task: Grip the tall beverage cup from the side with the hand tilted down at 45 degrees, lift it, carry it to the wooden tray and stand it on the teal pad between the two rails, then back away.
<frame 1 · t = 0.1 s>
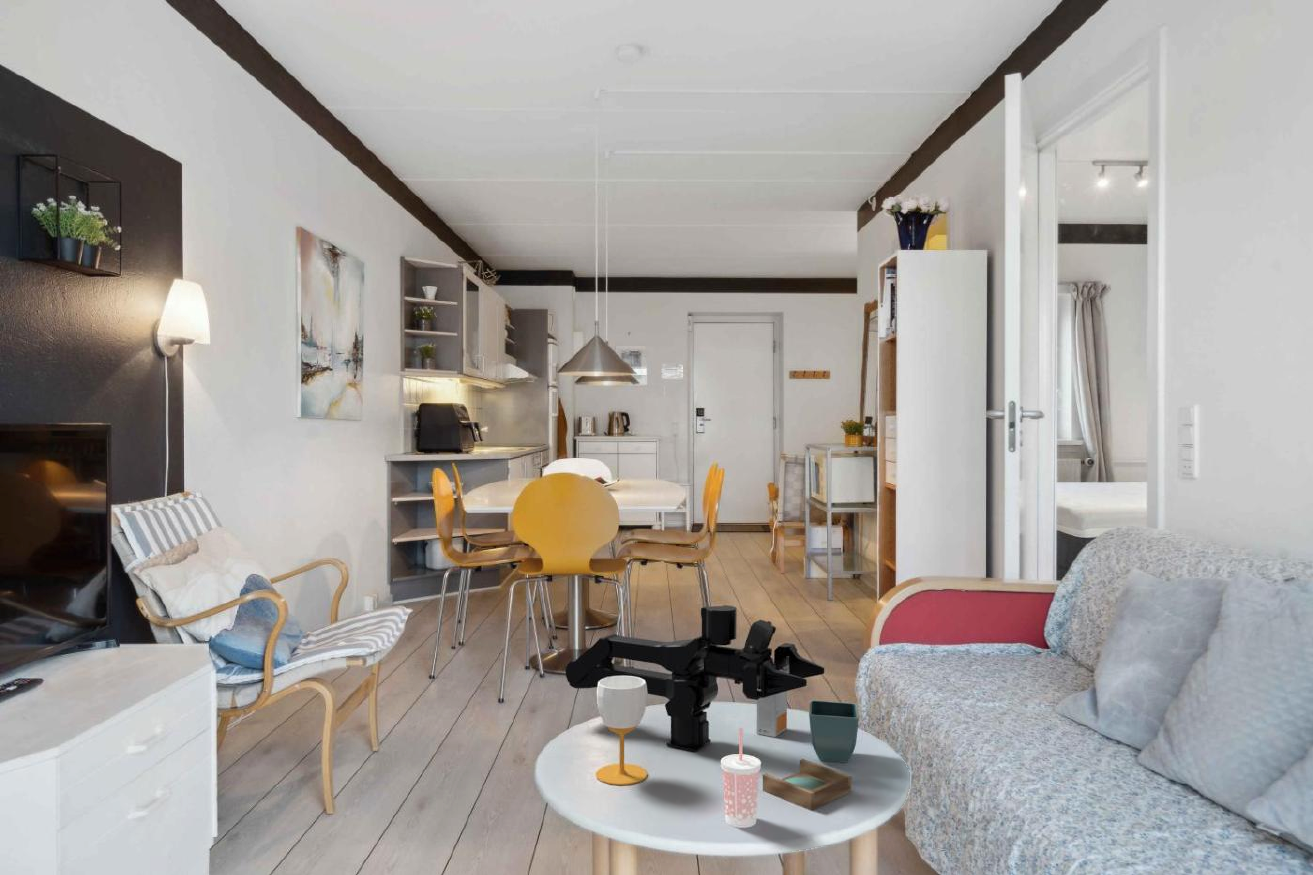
hand: (815, 676, 143), 17 cm above the table, tool horizontal, fingers open, 9 cm apart
beverage cup: (740, 822, 124), on the table
cup: (621, 776, 141), on the table
wooden tray: (806, 791, 135), on the table
flower pot: (833, 758, 150), on the table
skincare box: (772, 732, 163), on the table
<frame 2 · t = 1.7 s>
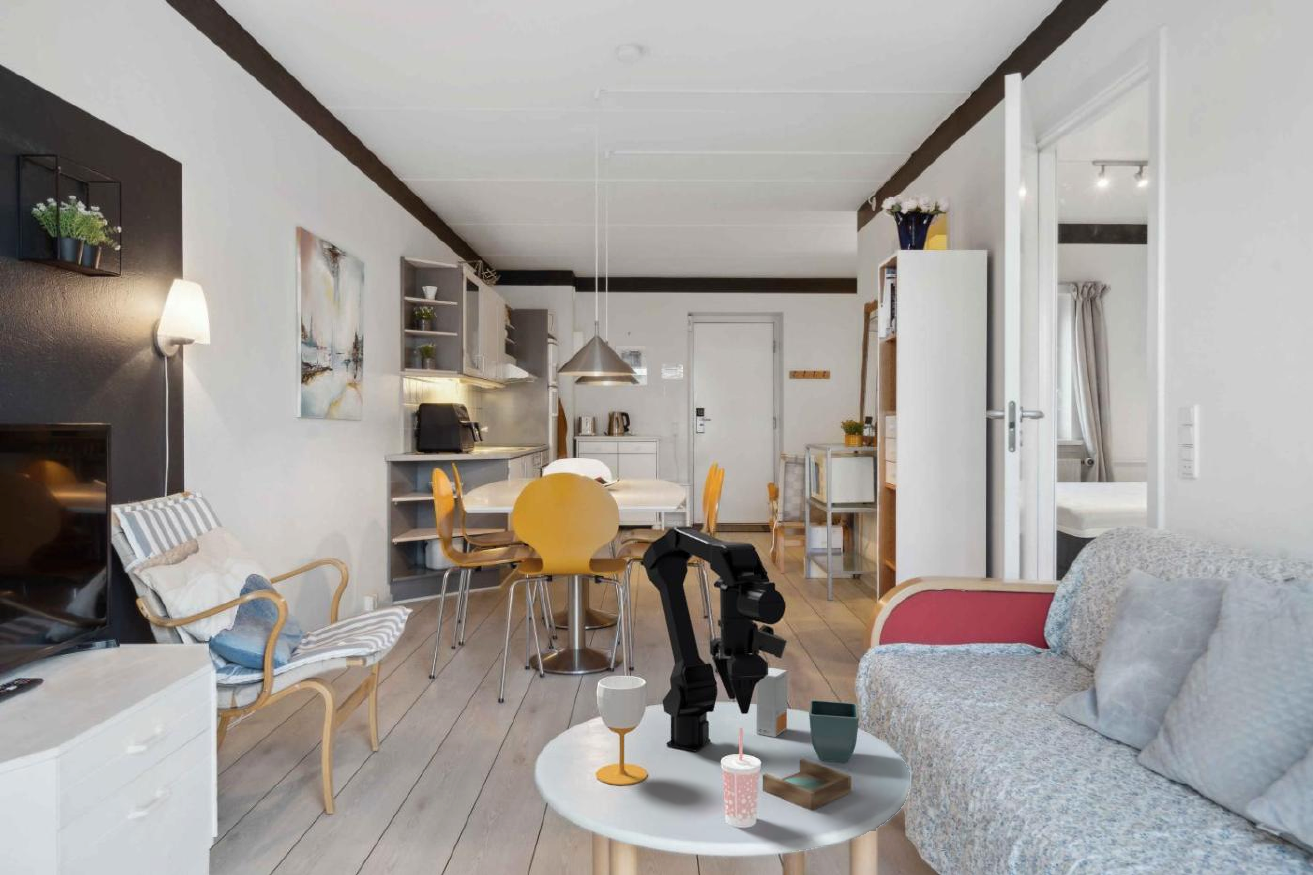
hand: (738, 705, 142), 12 cm above the table, tool pointing down, fingers open, 9 cm apart
nothing on the table moved.
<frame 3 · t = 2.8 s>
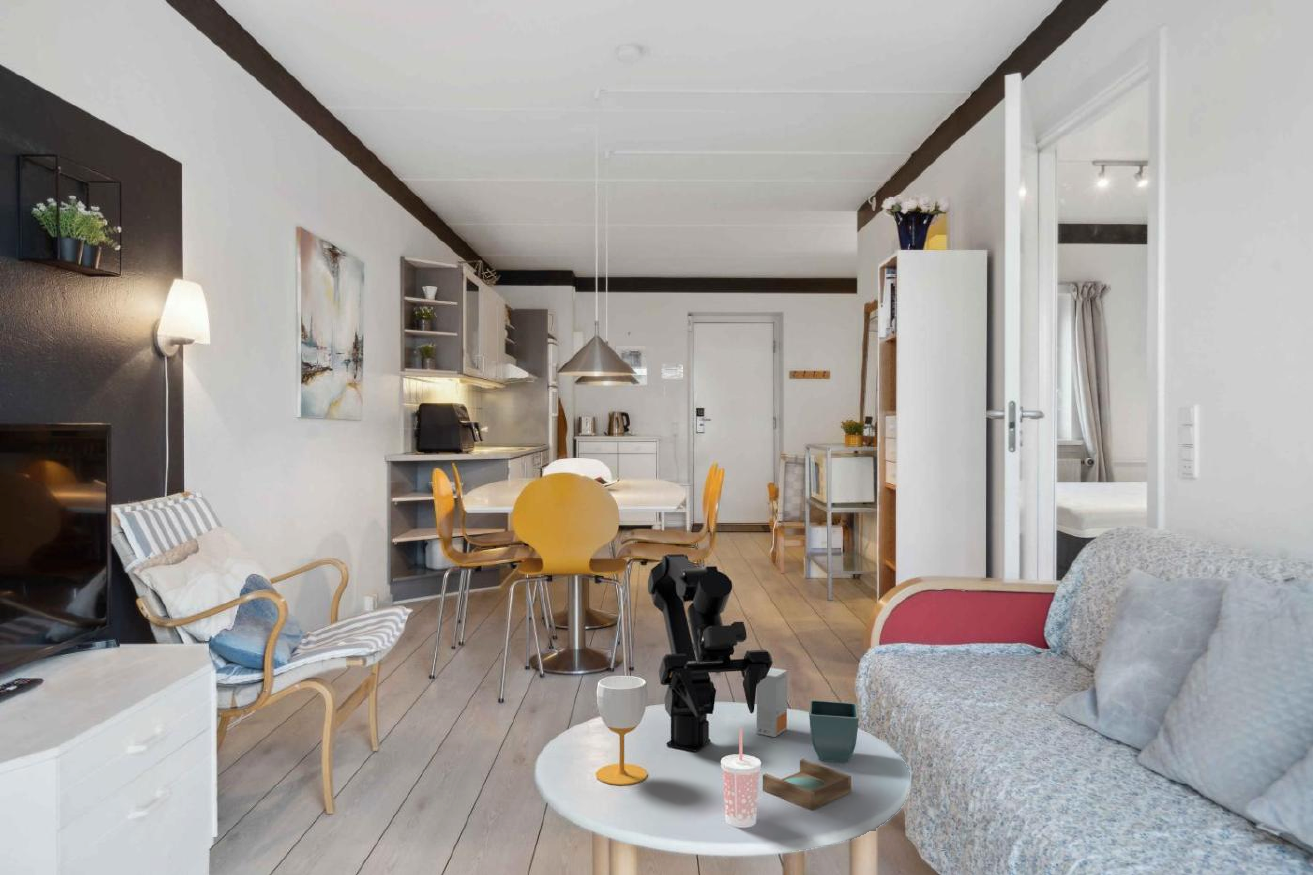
hand: (725, 713, 132), 13 cm above the table, tool tilted 45°, fingers open, 9 cm apart
nothing on the table moved.
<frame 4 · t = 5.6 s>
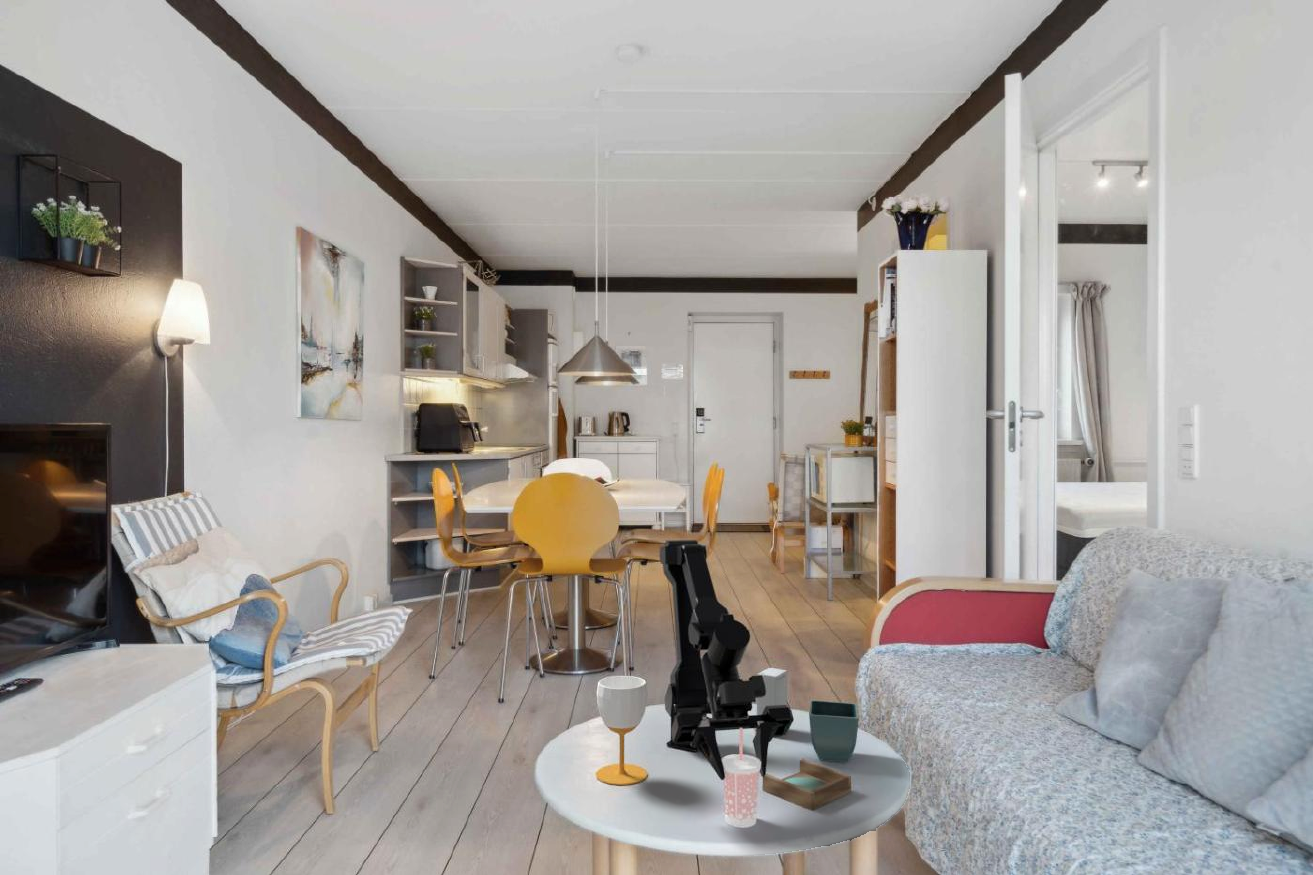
hand: (743, 777, 122), 7 cm above the table, tool tilted 45°, fingers closed on beverage cup, 6 cm apart
beverage cup: (740, 822, 124), on the table, touching gripper
everything else where it was.
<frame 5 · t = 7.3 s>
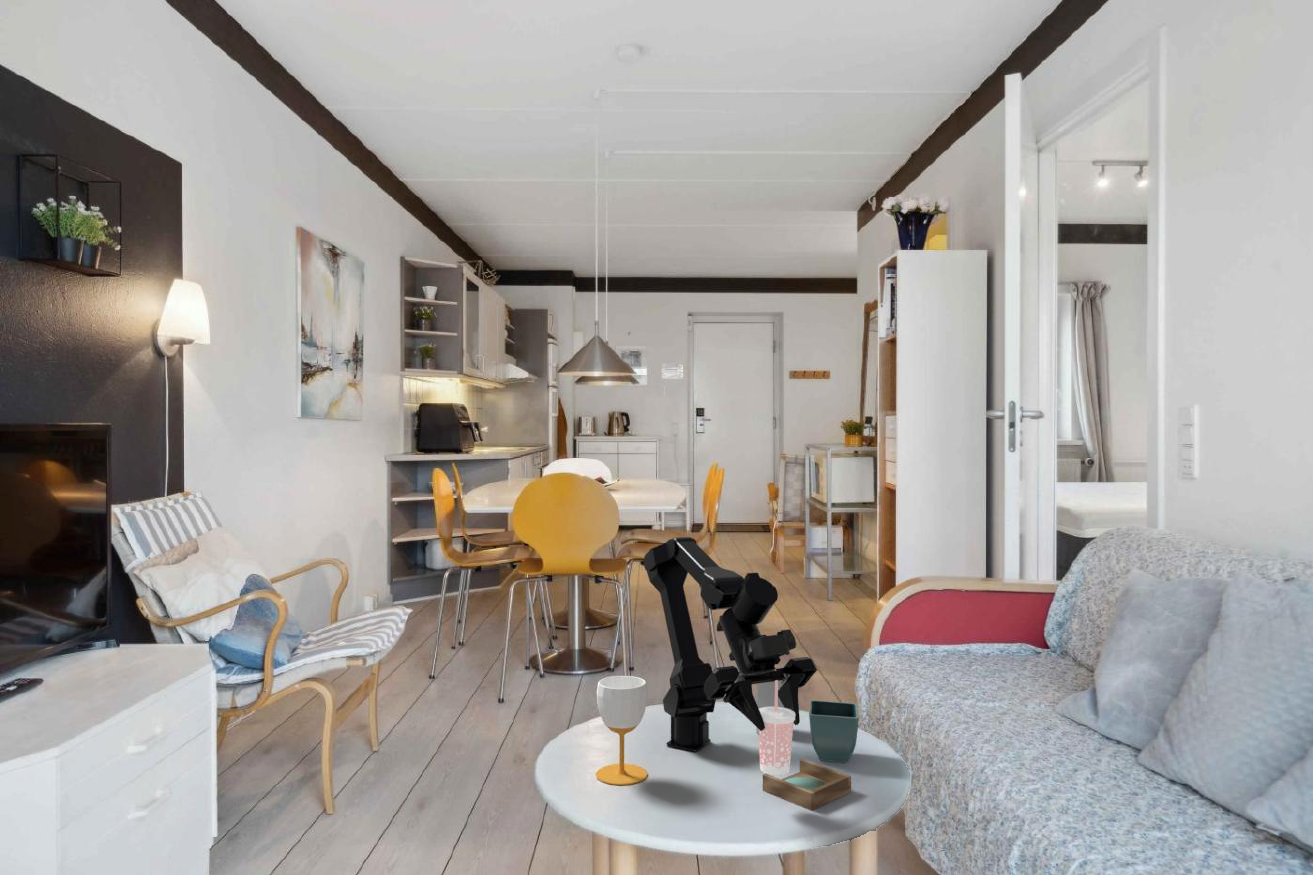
hand: (780, 726, 127), 13 cm above the table, tool tilted 45°, fingers closed on beverage cup, 6 cm apart
beverage cup: (774, 770, 128), point 6 cm above the table, touching gripper
everything else where it was.
when the fingers open (8 cm above the table, at t = 9.2 s): beverage cup stays where it is, resting on wooden tray.
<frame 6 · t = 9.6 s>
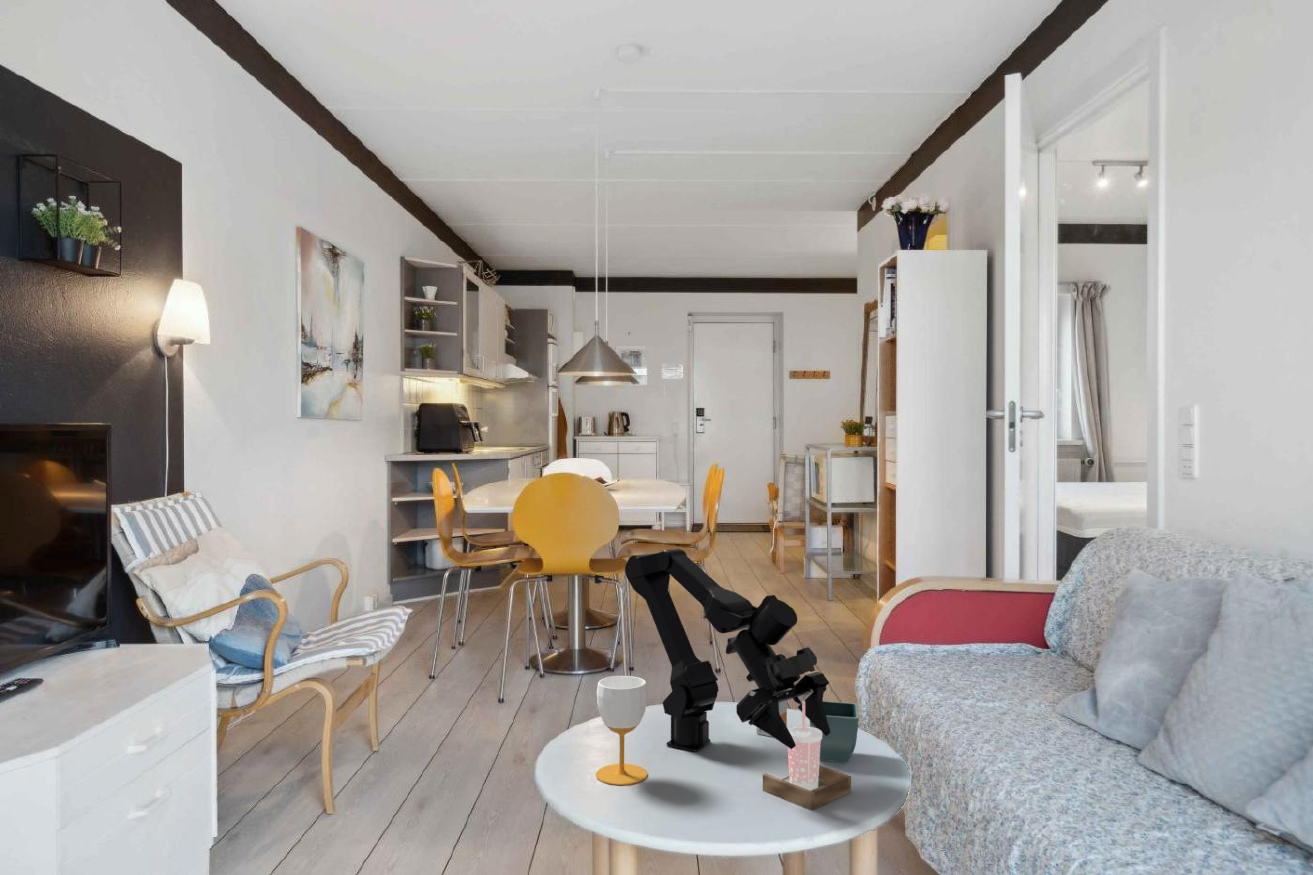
hand: (811, 740, 134), 9 cm above the table, tool tilted 45°, fingers open, 9 cm apart
beverage cup: (803, 787, 135), point 1 cm above the table, touching wooden tray
everything else where it was.
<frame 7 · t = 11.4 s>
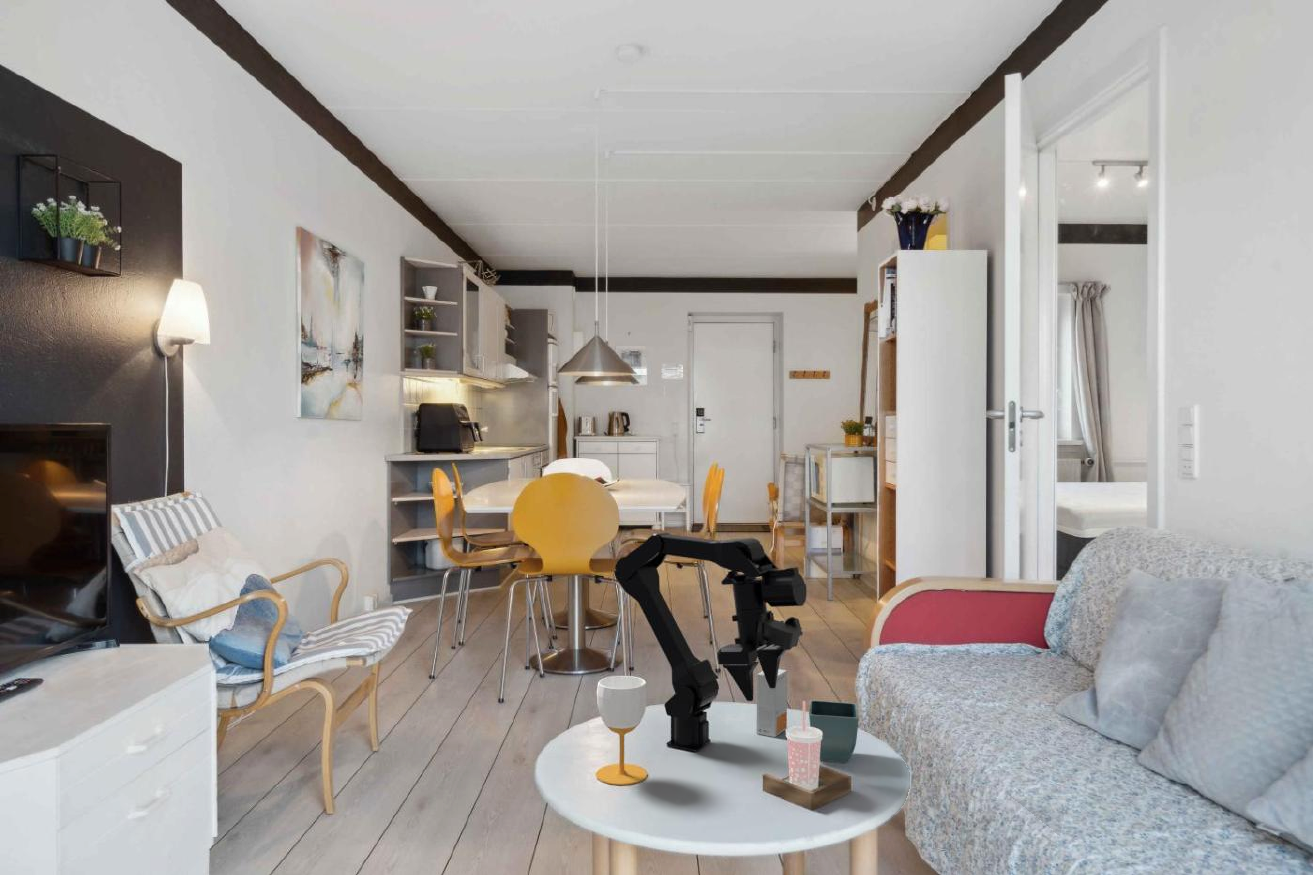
hand: (761, 694, 148), 12 cm above the table, tool pointing down, fingers open, 9 cm apart
nothing on the table moved.
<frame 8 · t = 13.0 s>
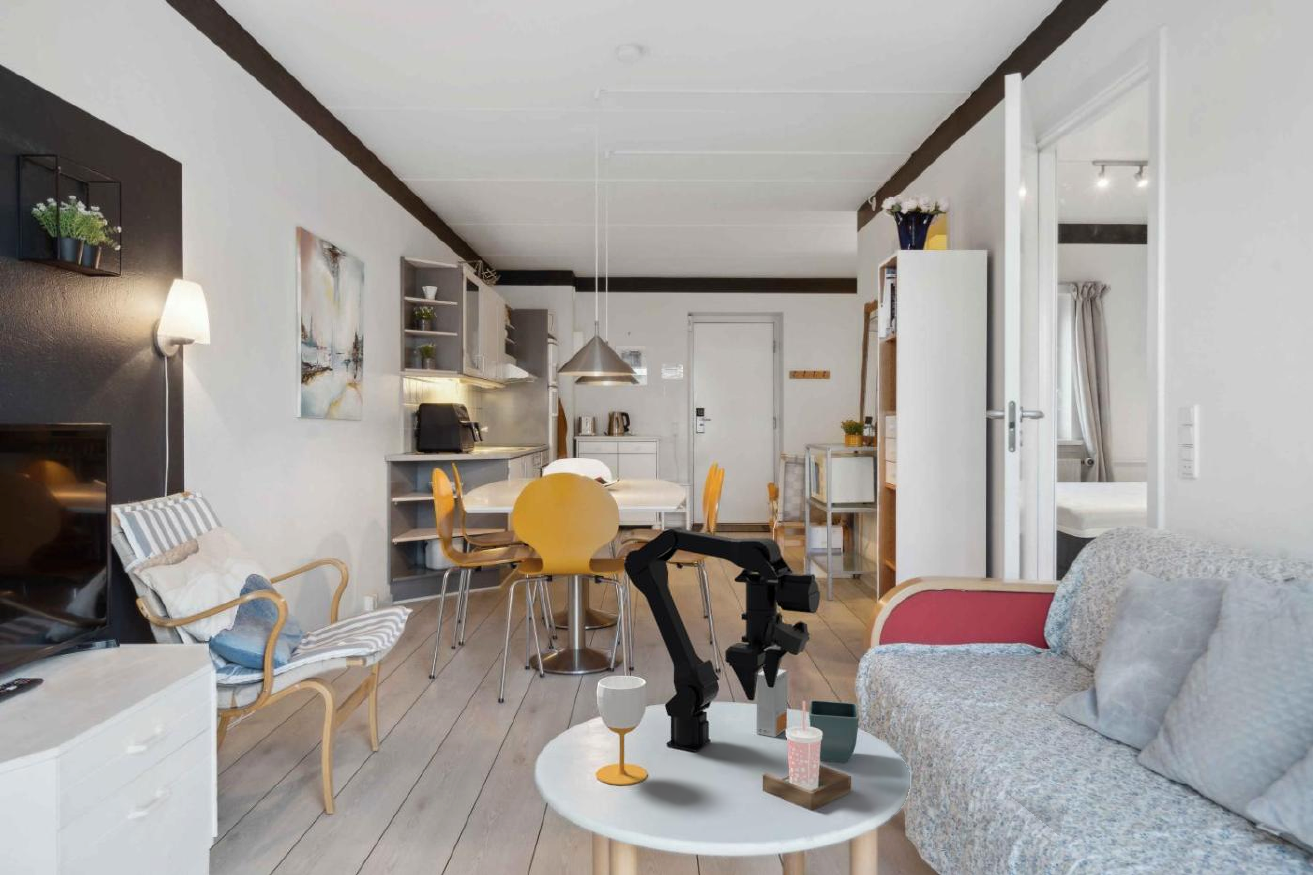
hand: (761, 693, 149), 12 cm above the table, tool pointing down, fingers open, 9 cm apart
nothing on the table moved.
at the end: beverage cup 0.6 cm from the wooden tray (horizontally); beverage cup tilted 0°; beverage cup point 0.5 cm above the table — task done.
